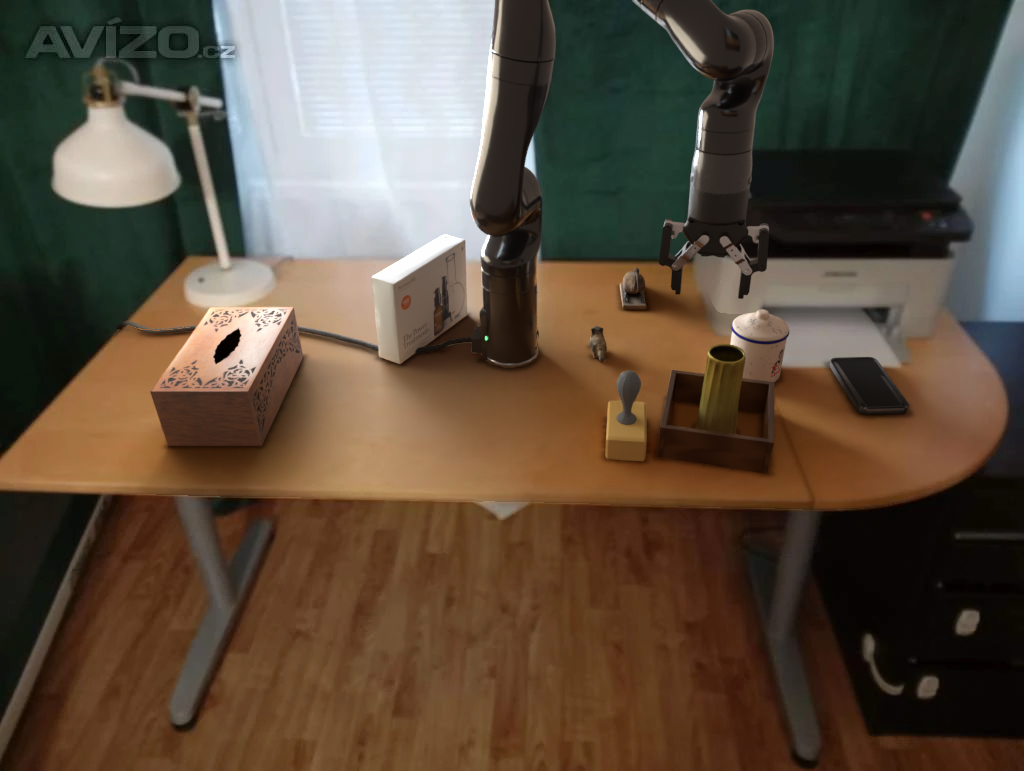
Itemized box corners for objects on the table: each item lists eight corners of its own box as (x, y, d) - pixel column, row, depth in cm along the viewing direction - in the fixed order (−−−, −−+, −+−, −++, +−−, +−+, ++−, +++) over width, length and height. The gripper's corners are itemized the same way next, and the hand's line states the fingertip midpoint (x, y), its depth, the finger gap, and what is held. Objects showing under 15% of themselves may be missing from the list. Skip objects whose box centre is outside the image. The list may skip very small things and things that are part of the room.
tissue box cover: (261, 446, 124) (247, 391, 118) (167, 445, 124) (150, 391, 119) (303, 356, 145) (293, 306, 140) (223, 356, 146) (210, 307, 140)
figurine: (648, 320, 153) (651, 278, 148) (624, 320, 153) (626, 278, 148) (641, 286, 165) (644, 246, 160) (619, 286, 165) (621, 246, 160)
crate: (657, 457, 119) (659, 427, 116) (668, 398, 132) (671, 369, 129) (768, 473, 116) (774, 442, 113) (769, 411, 128) (774, 381, 125)
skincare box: (402, 366, 142) (392, 283, 133) (378, 358, 144) (367, 276, 135) (471, 315, 156) (466, 237, 148) (447, 308, 159) (441, 231, 150)
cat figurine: (602, 340, 146) (604, 323, 144) (609, 371, 141) (611, 354, 138) (587, 341, 146) (588, 324, 143) (593, 372, 141) (595, 355, 138)
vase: (741, 429, 124) (754, 348, 116) (727, 450, 120) (740, 368, 112) (703, 417, 127) (713, 337, 119) (688, 437, 123) (698, 356, 115)
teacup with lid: (782, 390, 133) (794, 327, 126) (724, 384, 135) (733, 322, 128) (779, 352, 142) (790, 292, 136) (725, 347, 144) (733, 288, 138)
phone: (861, 409, 126) (828, 357, 138) (859, 415, 126) (827, 363, 139) (912, 407, 126) (875, 356, 138) (910, 413, 126) (874, 362, 139)
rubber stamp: (607, 419, 127) (610, 353, 121) (644, 421, 127) (650, 355, 120) (605, 458, 119) (608, 390, 113) (645, 461, 119) (651, 392, 112)
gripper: (777, 174, 107) (761, 286, 116) (666, 169, 110) (659, 279, 119) (778, 194, 101) (762, 310, 110) (661, 189, 104) (654, 302, 113)
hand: (708, 294), depth 114 cm, fingers open, 8 cm apart
